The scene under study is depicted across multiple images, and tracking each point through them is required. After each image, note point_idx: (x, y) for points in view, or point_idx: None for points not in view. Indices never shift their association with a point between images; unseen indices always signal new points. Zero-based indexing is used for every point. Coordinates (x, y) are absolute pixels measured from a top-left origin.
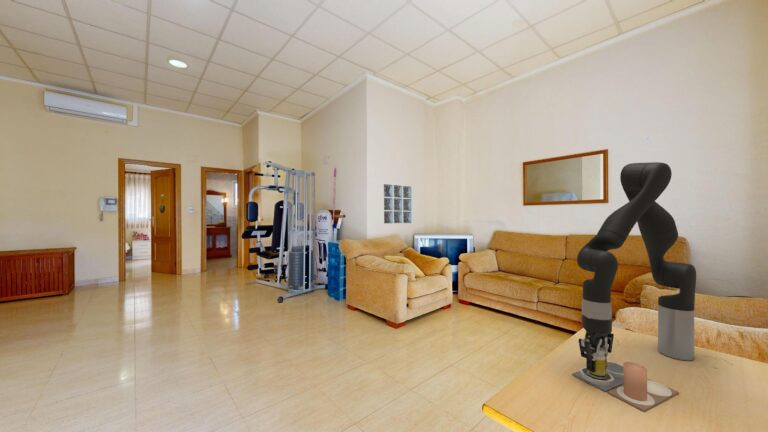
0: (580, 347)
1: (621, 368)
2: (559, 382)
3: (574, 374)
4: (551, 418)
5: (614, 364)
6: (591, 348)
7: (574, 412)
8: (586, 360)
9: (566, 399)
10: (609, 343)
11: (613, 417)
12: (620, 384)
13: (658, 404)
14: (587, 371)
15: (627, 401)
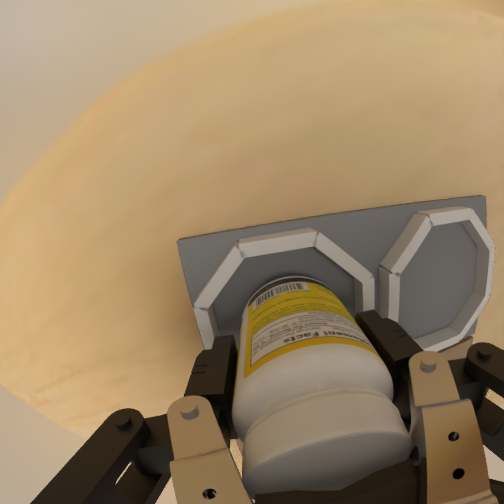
0: (58, 484)
1: (477, 276)
2: (72, 274)
3: (183, 252)
4: (7, 378)
5: (482, 247)
6: (267, 479)
7: (51, 396)
8: (185, 393)
9: (50, 359)
10: (497, 447)
11: None
12: None
13: None
14: (251, 299)
15: (239, 446)
